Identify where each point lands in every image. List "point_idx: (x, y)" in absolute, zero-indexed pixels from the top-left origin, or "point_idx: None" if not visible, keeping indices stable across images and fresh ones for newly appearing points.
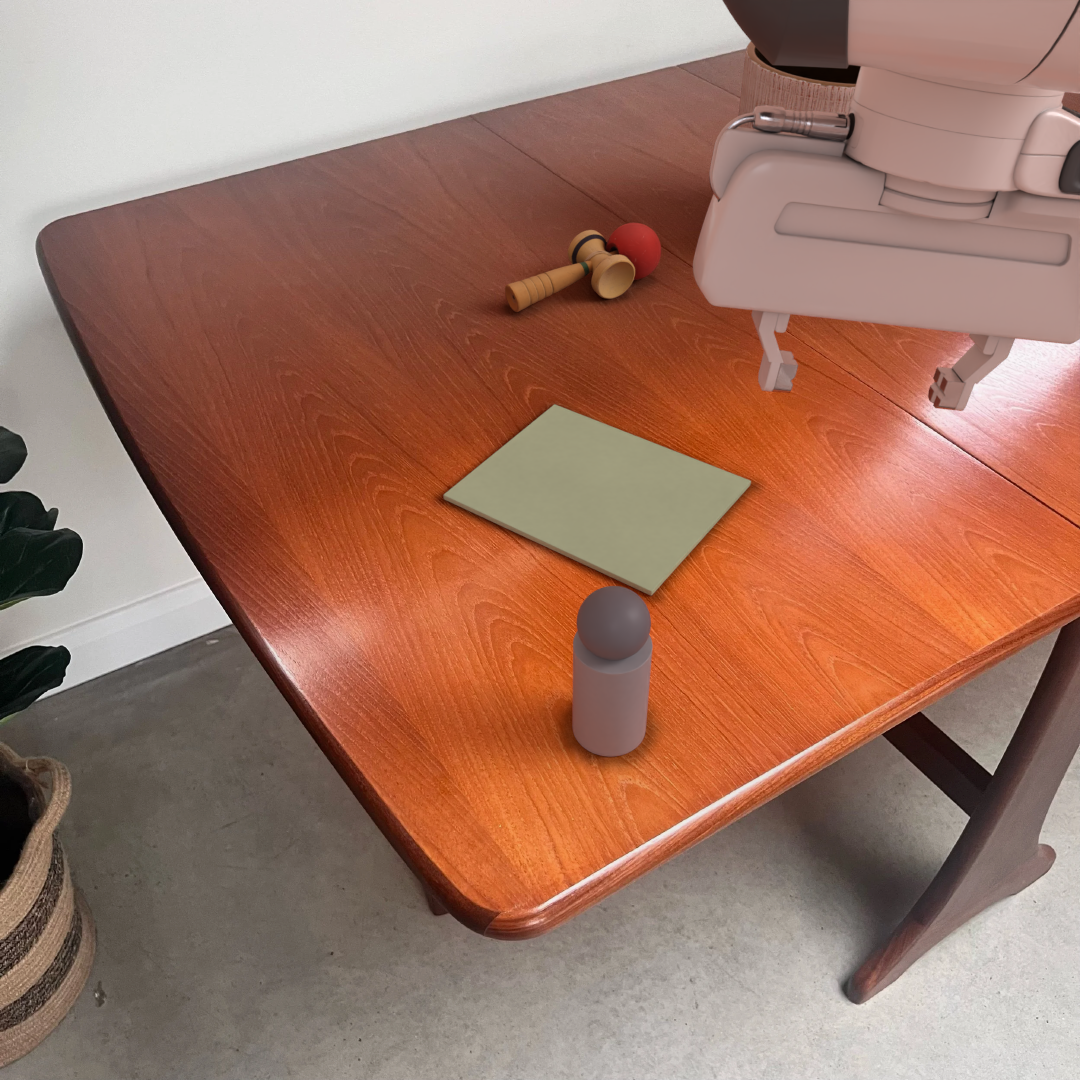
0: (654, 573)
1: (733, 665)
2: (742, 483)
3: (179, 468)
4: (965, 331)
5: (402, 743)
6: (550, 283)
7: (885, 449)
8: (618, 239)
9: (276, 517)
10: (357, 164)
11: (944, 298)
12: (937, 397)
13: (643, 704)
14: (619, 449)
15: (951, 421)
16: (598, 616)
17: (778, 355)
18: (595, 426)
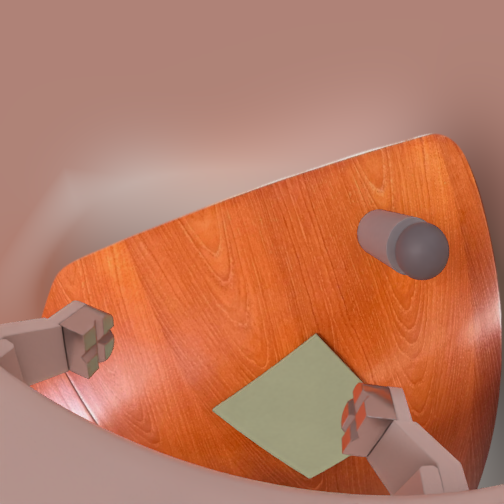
0: (308, 349)
1: (285, 263)
2: (219, 409)
3: (486, 433)
4: (18, 380)
5: (473, 249)
6: None
7: (119, 409)
8: None
9: (470, 406)
10: None
11: (31, 471)
12: (104, 329)
13: (378, 219)
14: (286, 446)
15: (78, 413)
16: (446, 244)
17: (407, 431)
18: (293, 463)
